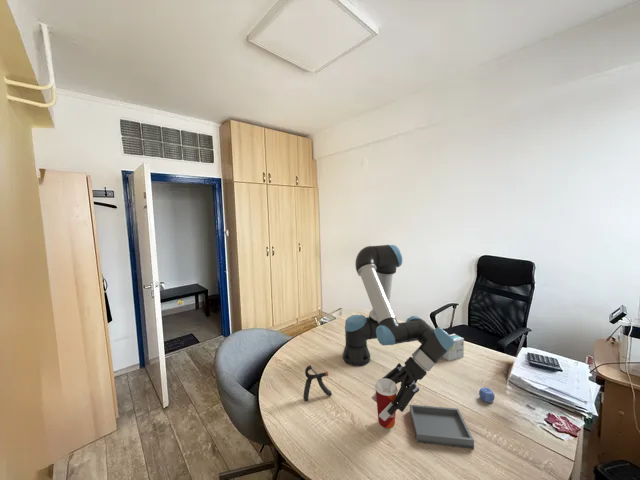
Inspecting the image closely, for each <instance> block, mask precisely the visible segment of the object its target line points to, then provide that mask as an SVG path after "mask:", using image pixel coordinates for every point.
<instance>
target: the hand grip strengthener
mask: <svg viewBox="0 0 640 480" xmlns="http://www.w3.org/2000/svg"><path fill="white" fill-rule="evenodd" d="M310 370H311V371H312V372H313V374H310V373H309V371H310ZM304 373H305V374H304V375H305V377H306V378H307V379H306V380H305V384H304V389H303V400H304V402H308V401H309V394H310V389H311V385H312V382H313V380H314V379H316V380H317V384H318V385H319V387H320V389H321V391H323V393H325V395H326V396H328V397H329V398H330V397H331V396H332V395H333V393H332V390H330V389H329V388H328V387H327V386H326V385H325V384H324V382H323V378H324V377H328V376H329V372H328V371H324V372H320V373H319V372H318V371H316V370H315V368H313V367H312V365H308V366H307V367H306V368H305V370H304Z"/></svg>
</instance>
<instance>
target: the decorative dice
mask: <svg viewBox="0 0 640 480" xmlns="http://www.w3.org/2000/svg"><path fill="white" fill-rule="evenodd" d="M478 395H479V397H480V399H481V400H482V401H483V402H485V403H489V404H490V403H493V402H494V400H495V398H496V397H495V393H494V391H492V389H490V388H488V387H486V386H485V387H480V389H479V392H478Z"/></svg>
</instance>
